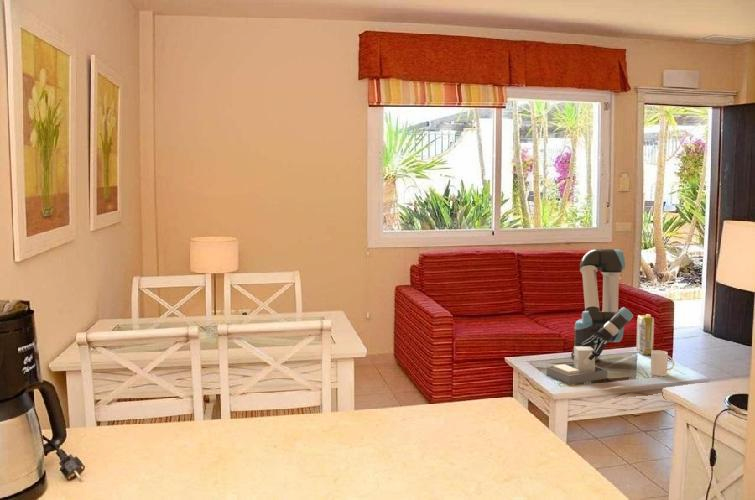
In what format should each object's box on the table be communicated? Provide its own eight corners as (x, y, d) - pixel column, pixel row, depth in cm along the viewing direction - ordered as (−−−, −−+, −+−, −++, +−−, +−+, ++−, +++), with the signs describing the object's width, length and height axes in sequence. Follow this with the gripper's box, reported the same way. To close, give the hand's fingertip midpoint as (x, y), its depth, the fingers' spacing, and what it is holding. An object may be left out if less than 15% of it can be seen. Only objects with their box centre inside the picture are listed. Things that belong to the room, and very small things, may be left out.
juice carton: (654, 355, 377) (655, 315, 374) (641, 355, 377) (642, 315, 375) (647, 351, 386) (649, 312, 384) (634, 351, 386) (636, 312, 384)
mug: (676, 375, 337) (677, 353, 336) (669, 378, 331) (670, 356, 330) (654, 370, 346) (655, 349, 345) (647, 373, 340) (648, 352, 339)
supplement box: (590, 373, 340) (590, 346, 338) (595, 378, 331) (595, 350, 329) (573, 373, 340) (573, 345, 338) (577, 378, 331) (578, 350, 330)
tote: (546, 375, 337) (546, 366, 337) (583, 370, 347) (583, 361, 346) (568, 385, 321) (569, 375, 320) (607, 379, 330) (607, 370, 330)
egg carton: (553, 375, 335) (553, 365, 335) (563, 374, 338) (564, 364, 337) (568, 382, 324) (568, 371, 324) (579, 380, 327) (579, 370, 326)
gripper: (623, 342, 322) (593, 371, 323) (603, 331, 347) (575, 358, 347) (613, 332, 321) (583, 361, 322) (594, 321, 346) (566, 348, 347)
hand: (579, 359), depth 335 cm, fingers open, 13 cm apart
